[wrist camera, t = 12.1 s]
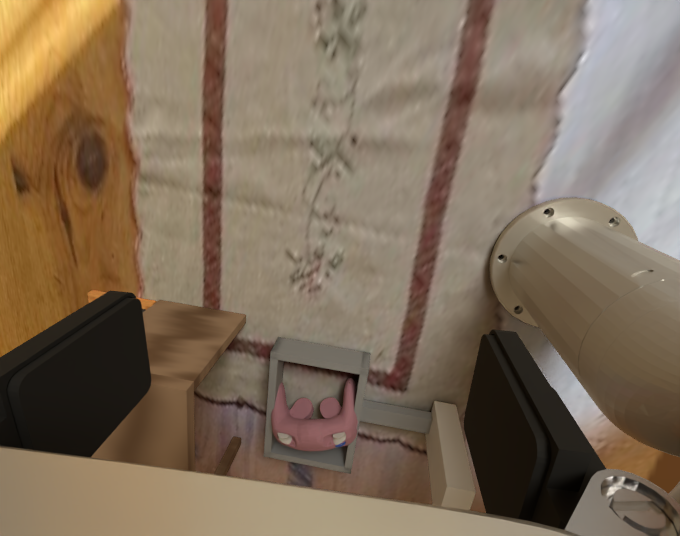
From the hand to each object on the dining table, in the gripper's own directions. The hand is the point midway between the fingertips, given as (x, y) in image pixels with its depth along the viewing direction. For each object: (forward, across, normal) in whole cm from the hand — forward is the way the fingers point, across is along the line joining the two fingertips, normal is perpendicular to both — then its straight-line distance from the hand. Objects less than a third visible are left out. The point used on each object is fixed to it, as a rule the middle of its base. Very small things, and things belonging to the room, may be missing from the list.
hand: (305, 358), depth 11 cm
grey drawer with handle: (+27, -2, +24) cm, 37 cm away
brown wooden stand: (+28, +17, +23) cm, 40 cm away
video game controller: (+28, +3, +24) cm, 37 cm away
